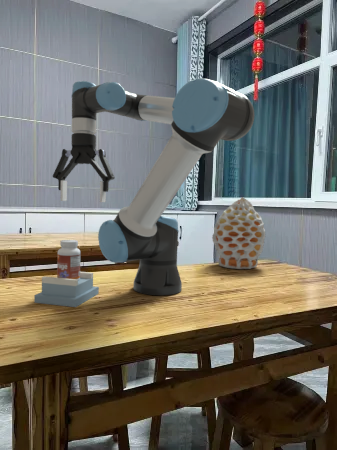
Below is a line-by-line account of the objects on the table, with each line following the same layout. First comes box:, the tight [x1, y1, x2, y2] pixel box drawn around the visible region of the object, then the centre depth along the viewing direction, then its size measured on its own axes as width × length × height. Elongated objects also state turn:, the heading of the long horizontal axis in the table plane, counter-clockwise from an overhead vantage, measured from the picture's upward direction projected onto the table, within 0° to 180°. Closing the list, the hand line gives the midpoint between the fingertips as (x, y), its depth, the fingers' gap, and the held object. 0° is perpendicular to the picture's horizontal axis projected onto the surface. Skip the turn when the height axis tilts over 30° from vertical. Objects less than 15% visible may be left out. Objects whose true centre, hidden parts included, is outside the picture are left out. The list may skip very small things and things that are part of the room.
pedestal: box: [33, 271, 100, 308], centre depth 102 cm, size 12×14×6 cm
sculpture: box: [211, 197, 266, 270], centre depth 156 cm, size 21×22×30 cm
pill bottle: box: [56, 239, 81, 280], centre depth 101 cm, size 6×6×11 cm
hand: (82, 201), depth 117 cm, fingers open, 13 cm apart
